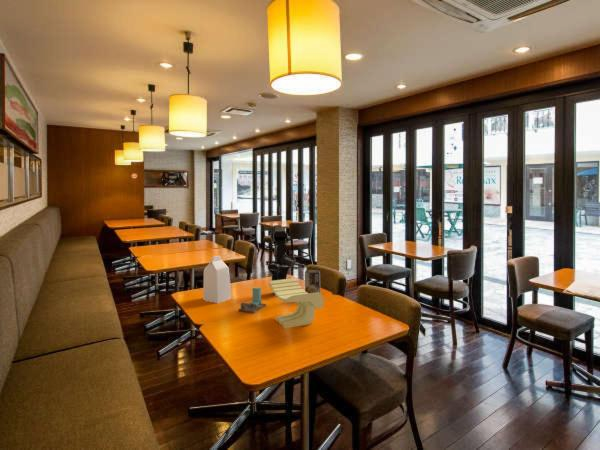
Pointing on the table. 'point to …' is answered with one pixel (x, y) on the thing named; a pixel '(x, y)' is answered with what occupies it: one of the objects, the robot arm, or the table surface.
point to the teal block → (256, 296)
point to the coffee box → (312, 281)
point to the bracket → (253, 308)
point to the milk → (216, 281)
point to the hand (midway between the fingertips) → (280, 280)
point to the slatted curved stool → (294, 293)
